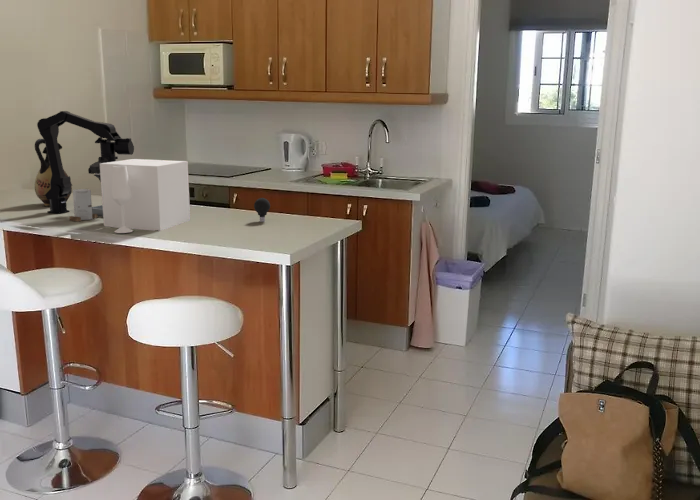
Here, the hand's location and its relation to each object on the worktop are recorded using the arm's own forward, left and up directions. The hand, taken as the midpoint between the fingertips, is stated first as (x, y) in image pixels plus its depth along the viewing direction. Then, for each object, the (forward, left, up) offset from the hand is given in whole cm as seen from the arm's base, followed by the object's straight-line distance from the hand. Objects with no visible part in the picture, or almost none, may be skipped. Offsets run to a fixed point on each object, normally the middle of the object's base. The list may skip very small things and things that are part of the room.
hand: (110, 191), depth 285 cm
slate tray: (0, 0, -10) cm, 10 cm away
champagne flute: (+32, -25, -10) cm, 42 cm away
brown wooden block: (0, -15, -10) cm, 18 cm away
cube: (+29, -8, -10) cm, 32 cm away
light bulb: (+66, +16, -10) cm, 69 cm away
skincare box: (0, -15, -10) cm, 18 cm away
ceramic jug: (-40, +3, -10) cm, 41 cm away
